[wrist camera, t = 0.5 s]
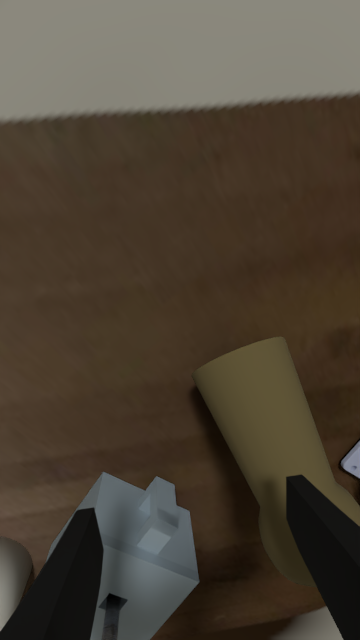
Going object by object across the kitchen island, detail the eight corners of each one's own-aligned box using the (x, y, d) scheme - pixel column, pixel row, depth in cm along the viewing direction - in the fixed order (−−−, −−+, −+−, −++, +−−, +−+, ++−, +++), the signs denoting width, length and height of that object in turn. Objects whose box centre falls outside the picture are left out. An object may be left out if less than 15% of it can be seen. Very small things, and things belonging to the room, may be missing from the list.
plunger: (144, 573, 20) (141, 704, 14) (122, 600, 20) (111, 737, 14) (108, 559, 19) (90, 691, 13) (87, 587, 19) (61, 726, 14)
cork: (288, 343, 19) (381, 525, 16) (209, 377, 21) (276, 547, 17) (279, 329, 14) (418, 602, 10) (175, 376, 16) (261, 622, 12)
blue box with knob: (206, 490, 23) (220, 557, 18) (136, 576, 25) (133, 658, 20) (120, 448, 21) (110, 510, 16) (51, 544, 23) (24, 625, 18)
